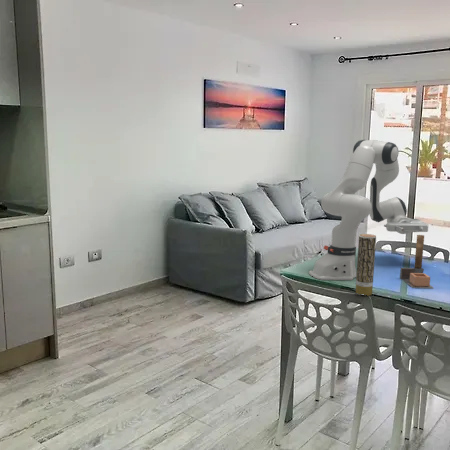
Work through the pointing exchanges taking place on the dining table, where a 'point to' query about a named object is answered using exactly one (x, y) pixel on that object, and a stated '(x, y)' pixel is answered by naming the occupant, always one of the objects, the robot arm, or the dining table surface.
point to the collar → (419, 279)
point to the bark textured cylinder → (365, 264)
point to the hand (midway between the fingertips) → (411, 230)
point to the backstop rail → (406, 276)
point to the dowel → (419, 251)
